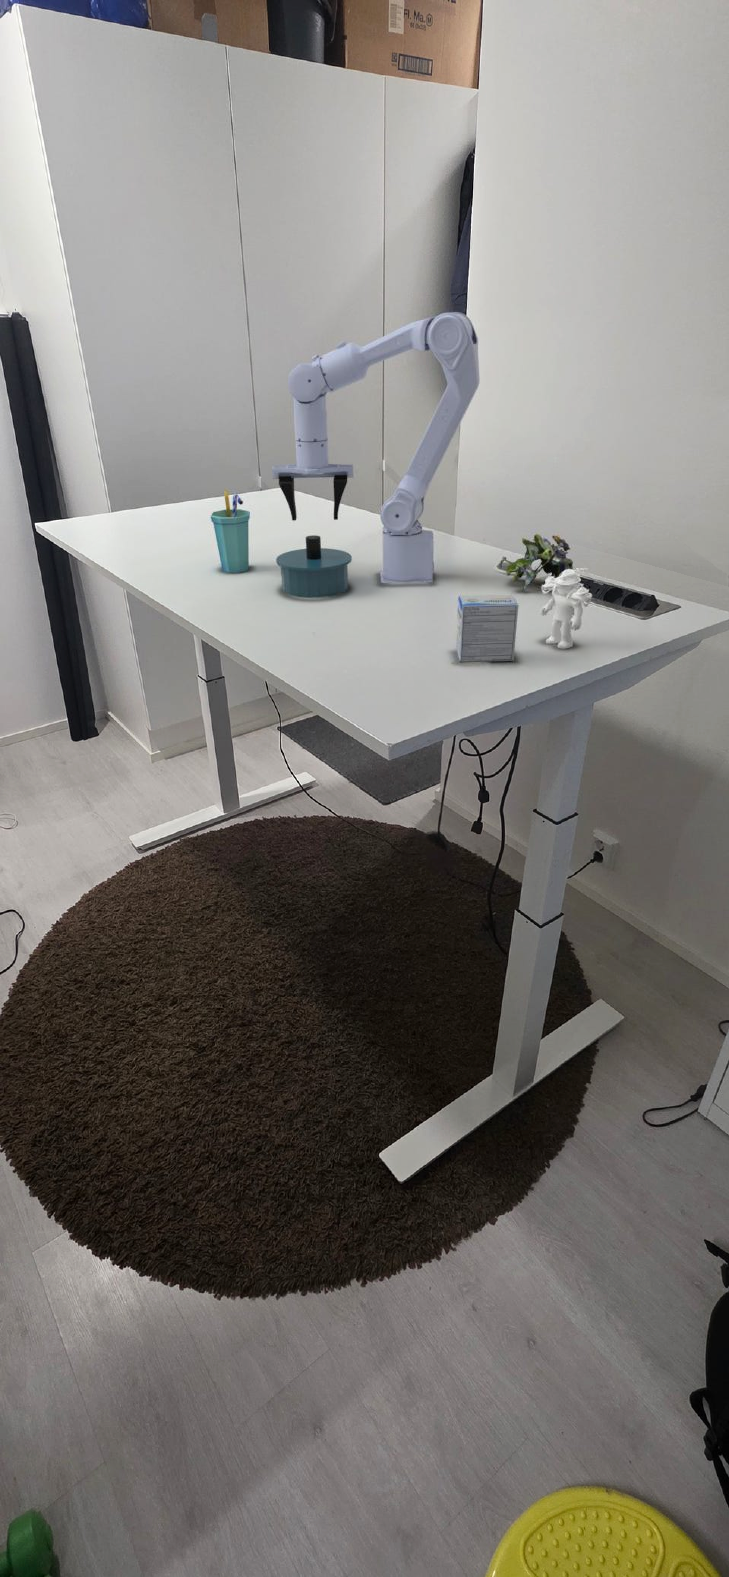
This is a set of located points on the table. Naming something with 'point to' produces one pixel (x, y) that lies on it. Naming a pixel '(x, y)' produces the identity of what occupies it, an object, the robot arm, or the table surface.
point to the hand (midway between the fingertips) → (315, 519)
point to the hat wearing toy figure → (565, 605)
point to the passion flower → (549, 556)
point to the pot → (314, 582)
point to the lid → (313, 557)
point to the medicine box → (486, 627)
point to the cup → (232, 536)
